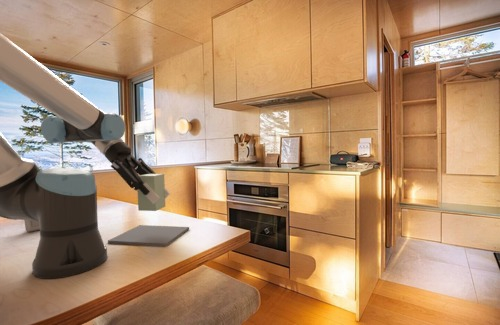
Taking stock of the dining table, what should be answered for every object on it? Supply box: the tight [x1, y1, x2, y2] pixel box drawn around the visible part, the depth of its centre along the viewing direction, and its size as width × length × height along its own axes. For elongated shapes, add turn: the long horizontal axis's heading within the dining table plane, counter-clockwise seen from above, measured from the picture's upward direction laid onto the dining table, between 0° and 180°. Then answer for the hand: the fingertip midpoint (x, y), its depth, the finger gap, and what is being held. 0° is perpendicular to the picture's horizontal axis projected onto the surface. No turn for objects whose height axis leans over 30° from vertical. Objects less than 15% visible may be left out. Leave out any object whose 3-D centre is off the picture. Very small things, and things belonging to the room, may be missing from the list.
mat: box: [107, 224, 190, 247], centre depth 85 cm, size 16×19×1 cm
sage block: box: [137, 173, 166, 212], centre depth 85 cm, size 6×6×11 cm
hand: (162, 198), depth 84 cm, fingers closed on sage block, 6 cm apart
